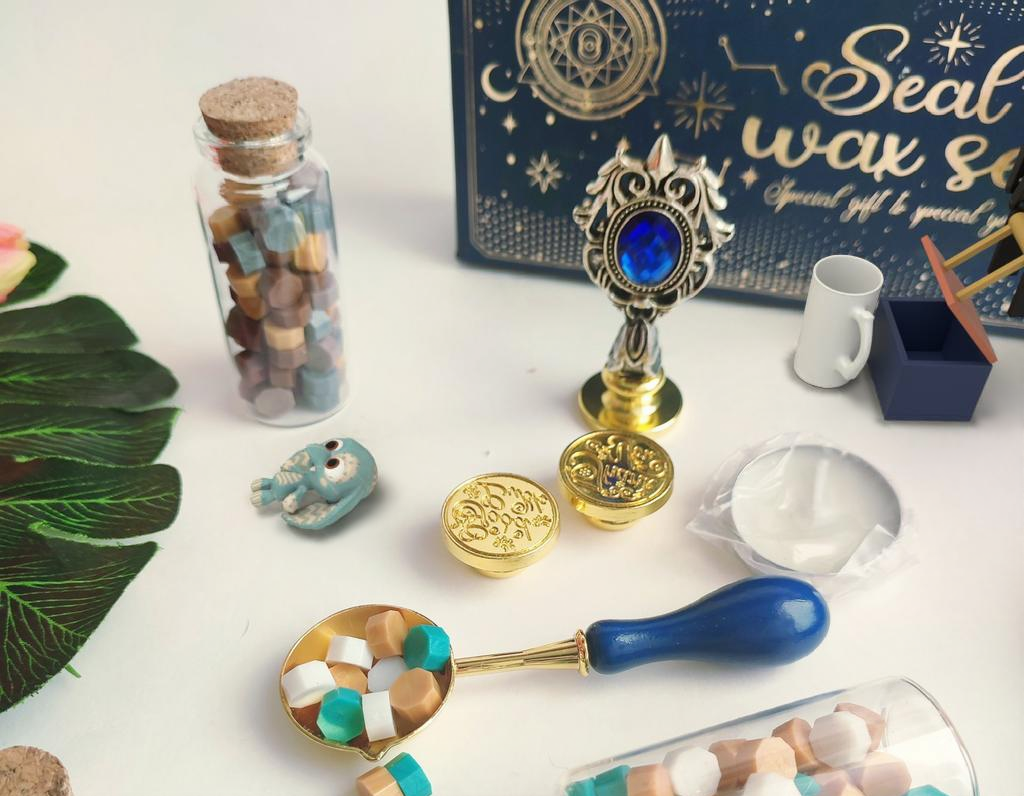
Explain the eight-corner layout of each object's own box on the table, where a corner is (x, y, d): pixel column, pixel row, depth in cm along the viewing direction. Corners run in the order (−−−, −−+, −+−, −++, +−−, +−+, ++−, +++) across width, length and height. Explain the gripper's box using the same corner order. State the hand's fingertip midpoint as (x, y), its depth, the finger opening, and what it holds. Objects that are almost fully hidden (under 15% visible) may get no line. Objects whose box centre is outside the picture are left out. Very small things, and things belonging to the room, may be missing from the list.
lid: (947, 305, 98) (1045, 250, 94) (920, 238, 106) (1009, 184, 101) (991, 364, 103) (1086, 314, 99) (962, 296, 111) (1049, 246, 106)
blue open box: (884, 420, 109) (903, 364, 104) (863, 351, 116) (880, 296, 111) (970, 421, 109) (993, 366, 103) (943, 352, 116) (964, 297, 111)
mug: (780, 354, 116) (802, 259, 107) (838, 345, 117) (865, 250, 108) (818, 415, 109) (845, 319, 101) (879, 405, 110) (911, 310, 102)
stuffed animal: (235, 424, 101) (359, 393, 100) (263, 476, 106) (380, 446, 105) (232, 507, 93) (366, 474, 93) (262, 558, 99) (389, 526, 98)
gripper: (1025, 7, 93) (947, 238, 110) (1102, 112, 80) (1000, 356, 97) (1113, 7, 93) (1021, 238, 110) (1204, 113, 80) (1084, 357, 97)
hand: (1012, 293), depth 104 cm, fingers closed on lid, 6 cm apart
